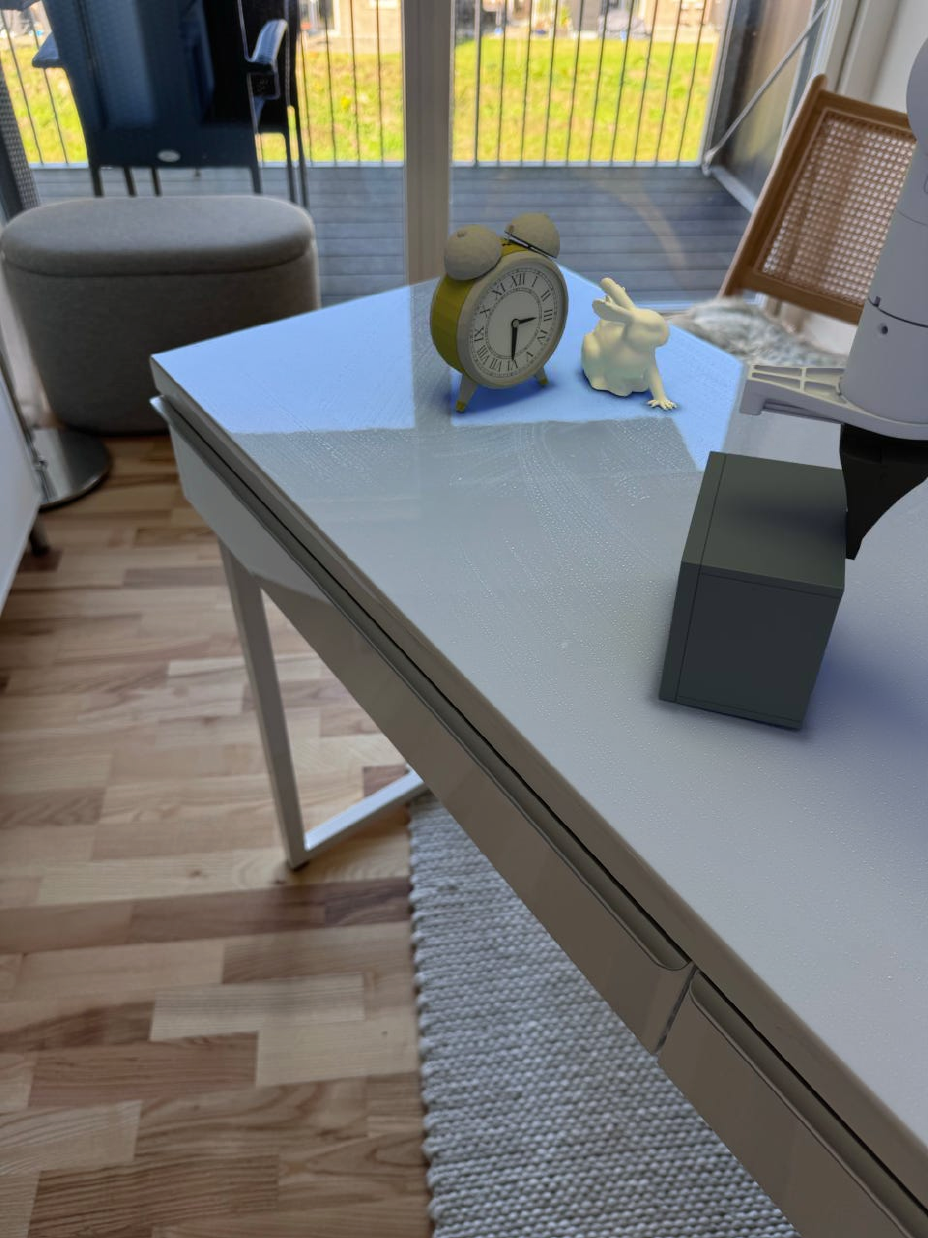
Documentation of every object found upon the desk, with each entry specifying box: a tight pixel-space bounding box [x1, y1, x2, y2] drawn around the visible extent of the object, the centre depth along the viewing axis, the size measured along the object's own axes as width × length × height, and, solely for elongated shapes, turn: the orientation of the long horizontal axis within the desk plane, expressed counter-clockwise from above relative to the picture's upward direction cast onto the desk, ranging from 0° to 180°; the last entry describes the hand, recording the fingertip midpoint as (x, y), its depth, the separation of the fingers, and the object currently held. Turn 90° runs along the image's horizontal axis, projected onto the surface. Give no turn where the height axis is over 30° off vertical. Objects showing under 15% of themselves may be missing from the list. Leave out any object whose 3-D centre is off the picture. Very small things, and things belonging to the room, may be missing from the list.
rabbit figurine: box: [580, 277, 677, 411], centre depth 81 cm, size 12×8×10 cm, turn 18°
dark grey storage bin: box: [657, 450, 847, 730], centre depth 54 cm, size 8×12×10 cm, turn 161°
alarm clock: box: [429, 211, 570, 413], centre depth 78 cm, size 12×7×15 cm, turn 126°
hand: (844, 548), depth 50 cm, fingers closed, pressing on dark grey storage bin
